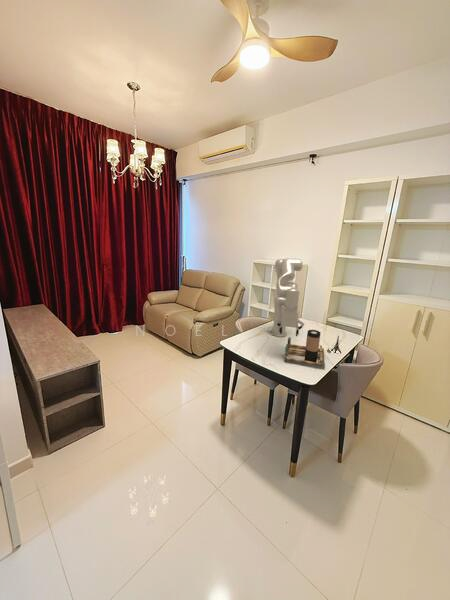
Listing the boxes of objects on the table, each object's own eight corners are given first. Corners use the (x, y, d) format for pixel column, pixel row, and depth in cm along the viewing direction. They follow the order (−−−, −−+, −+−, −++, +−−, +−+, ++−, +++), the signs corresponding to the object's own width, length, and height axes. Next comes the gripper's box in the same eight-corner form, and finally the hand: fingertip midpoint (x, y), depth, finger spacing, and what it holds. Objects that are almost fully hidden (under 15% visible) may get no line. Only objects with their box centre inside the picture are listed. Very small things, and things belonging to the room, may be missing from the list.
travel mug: (302, 358, 157) (305, 329, 152) (313, 358, 158) (317, 329, 153) (307, 364, 150) (310, 334, 145) (318, 364, 150) (323, 334, 146)
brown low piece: (283, 361, 153) (284, 349, 152) (286, 353, 164) (287, 342, 162) (321, 368, 146) (323, 355, 144) (321, 359, 157) (322, 347, 155)
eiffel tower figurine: (330, 346, 178) (332, 329, 175) (345, 350, 173) (348, 332, 169) (324, 353, 166) (327, 335, 163) (340, 358, 161) (343, 339, 158)
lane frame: (283, 362, 152) (284, 358, 151) (288, 345, 176) (288, 342, 175) (324, 369, 144) (324, 366, 144) (323, 351, 168) (323, 348, 167)
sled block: (286, 351, 166) (287, 340, 164) (287, 346, 174) (288, 336, 173) (321, 358, 159) (322, 346, 157) (321, 352, 167) (322, 341, 165)
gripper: (276, 308, 150) (273, 334, 154) (305, 311, 144) (302, 338, 148) (277, 305, 157) (275, 330, 161) (306, 308, 151) (303, 334, 155)
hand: (288, 334), depth 154 cm, fingers open, 9 cm apart
